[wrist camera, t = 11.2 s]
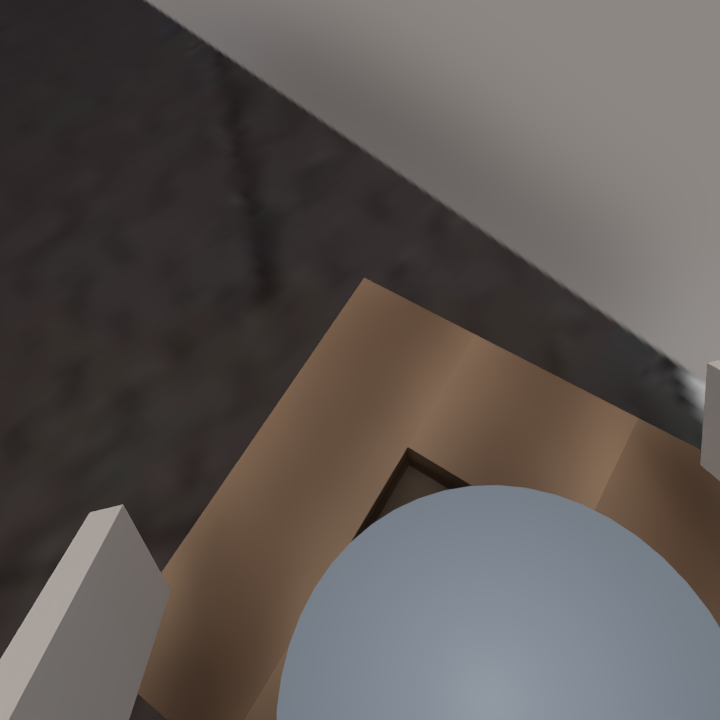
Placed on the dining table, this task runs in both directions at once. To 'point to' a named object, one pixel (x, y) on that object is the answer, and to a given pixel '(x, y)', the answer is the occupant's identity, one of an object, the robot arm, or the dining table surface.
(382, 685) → the dowel
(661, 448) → the bore block
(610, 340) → the dining table surface
